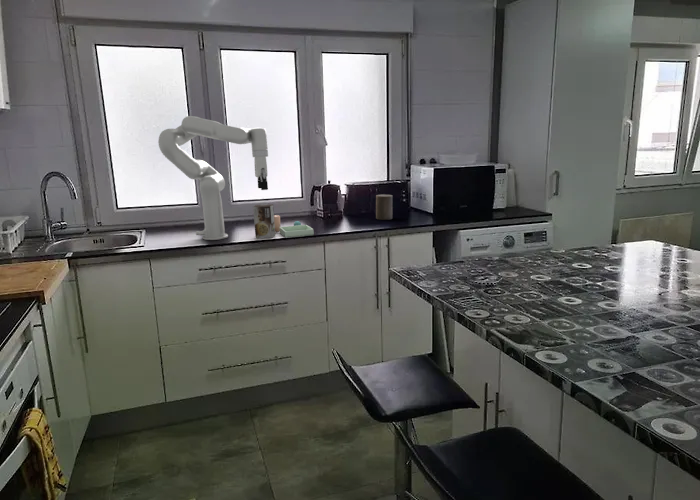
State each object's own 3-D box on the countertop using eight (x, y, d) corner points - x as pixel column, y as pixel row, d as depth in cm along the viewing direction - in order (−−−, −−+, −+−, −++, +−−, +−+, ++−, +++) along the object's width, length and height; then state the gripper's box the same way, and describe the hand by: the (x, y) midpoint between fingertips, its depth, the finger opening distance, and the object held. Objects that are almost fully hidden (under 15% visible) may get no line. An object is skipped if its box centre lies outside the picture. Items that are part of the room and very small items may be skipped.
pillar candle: (378, 220, 295) (378, 194, 292) (374, 217, 304) (373, 192, 301) (394, 219, 298) (394, 193, 294) (389, 216, 307) (389, 191, 303)
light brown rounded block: (268, 232, 269) (267, 217, 267) (266, 230, 275) (265, 215, 274) (282, 231, 271) (281, 216, 269) (279, 229, 278) (278, 214, 276)
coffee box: (275, 235, 261) (273, 204, 257) (272, 238, 255) (270, 205, 251) (258, 235, 262) (256, 204, 258) (255, 238, 256) (252, 206, 252)
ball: (294, 229, 276) (294, 222, 275) (293, 228, 279) (292, 220, 278) (302, 228, 277) (301, 221, 276) (300, 227, 281) (299, 220, 280)
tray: (285, 237, 254) (285, 231, 253) (279, 232, 268) (279, 227, 267) (313, 235, 258) (313, 229, 258) (306, 230, 272) (306, 224, 271)
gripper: (250, 153, 256) (252, 187, 260) (255, 154, 240) (258, 191, 244) (264, 153, 258) (267, 186, 262) (270, 153, 242) (273, 190, 246)
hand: (262, 188), depth 253 cm, fingers open, 9 cm apart
